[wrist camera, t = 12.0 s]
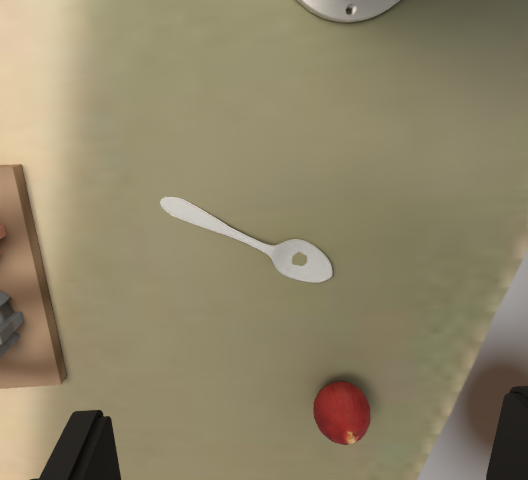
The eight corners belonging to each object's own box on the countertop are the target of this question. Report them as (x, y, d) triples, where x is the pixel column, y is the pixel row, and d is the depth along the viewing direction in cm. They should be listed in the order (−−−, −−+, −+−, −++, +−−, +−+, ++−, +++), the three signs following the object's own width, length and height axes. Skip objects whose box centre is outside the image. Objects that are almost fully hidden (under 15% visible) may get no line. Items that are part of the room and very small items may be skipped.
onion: (358, 406, 47) (382, 464, 40) (308, 411, 47) (323, 471, 39) (358, 363, 45) (384, 416, 38) (307, 368, 45) (322, 422, 37)
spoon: (319, 287, 42) (322, 294, 41) (126, 207, 38) (121, 212, 37) (338, 253, 41) (342, 259, 40) (141, 167, 37) (138, 169, 36)
